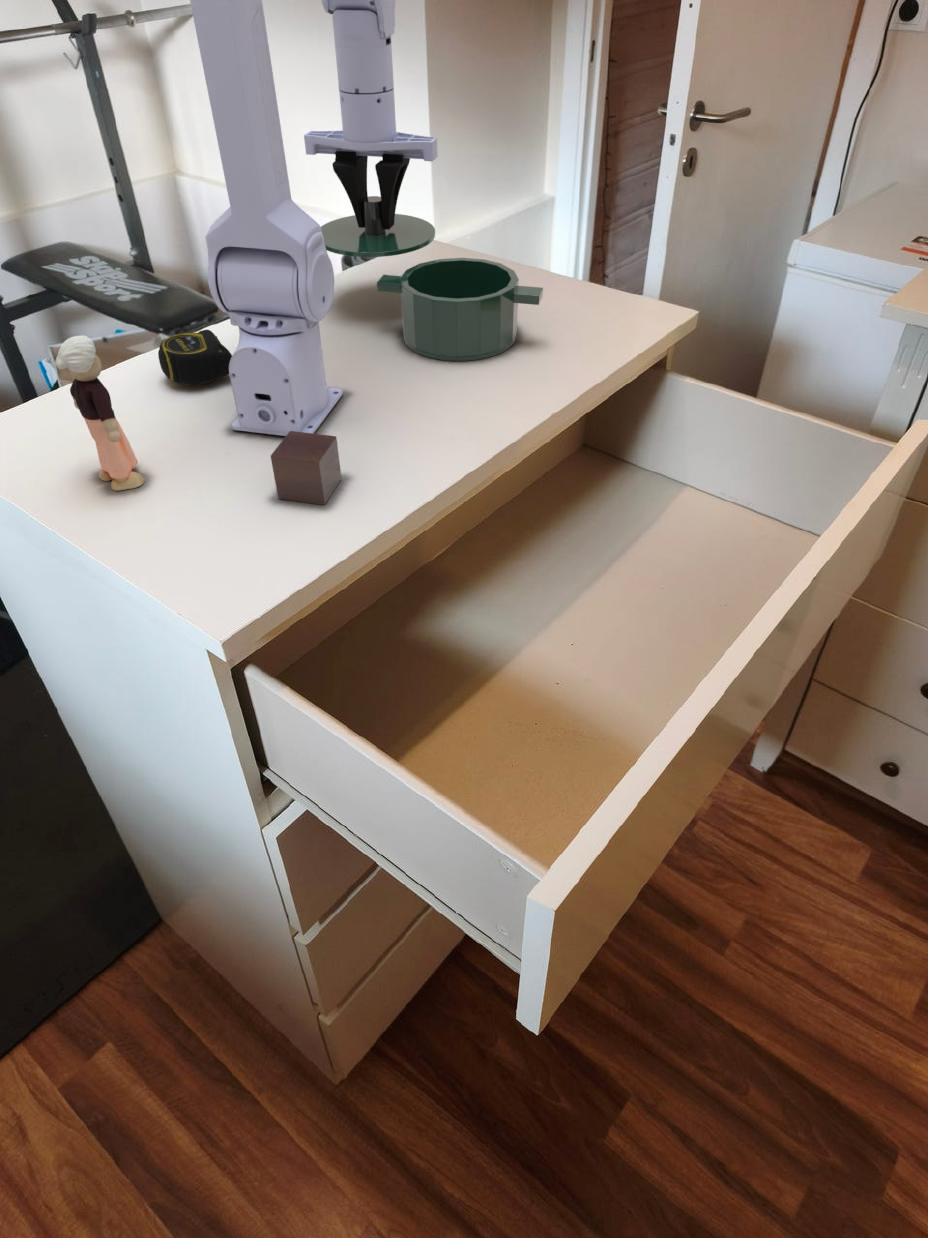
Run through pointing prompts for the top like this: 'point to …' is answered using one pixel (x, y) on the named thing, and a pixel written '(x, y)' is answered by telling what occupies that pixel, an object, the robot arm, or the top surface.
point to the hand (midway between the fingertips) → (376, 225)
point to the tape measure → (194, 358)
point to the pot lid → (376, 233)
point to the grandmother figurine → (98, 413)
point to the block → (306, 467)
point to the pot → (459, 307)
